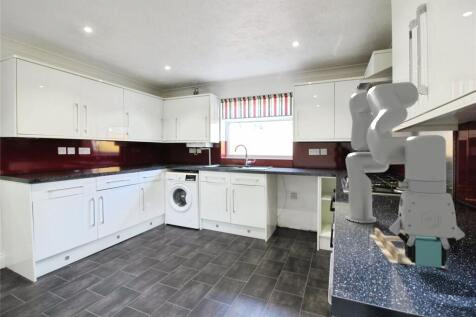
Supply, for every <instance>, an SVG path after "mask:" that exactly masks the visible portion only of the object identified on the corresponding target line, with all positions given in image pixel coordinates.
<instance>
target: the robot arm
mask: <svg viewBox="0 0 476 317" xmlns="http://www.w3.org/2000/svg"><path fill="white" fill-rule="evenodd" d="M418 89H419V88H417V86H416V85H415V84H414V83H413V82H411V81H409V82H408V81H404V82H402V81H401V82H393V83H391V82H390V83H381V84H377V85H375V86H373V87H371V88H370V89H369V90H367V91H366V90H365V91H360V92H356V93H353V94H352V95H351V96H350V98H349V101H348V102H349V103H348V107H349V109H348V110H349V113H350V115H351V120H352V121H351V123H352V125H351V135H350V146H351V148H352V149H353V150H355V152H351V153H348V154H347V156H346V158H345V165H346V170H347V182H348V214H346V215H345V219H346V220H347V219H348V220H347V221H349V220H350V222H353V221H354V222H353V223H358V222H359V223H360V224H373V223H376V222H377V218H376V217H375V216H373V191H372V190H373V189H372V188H373V186H372V185H373V184H372V181H371V179H370V178H369V177H368V176H367V175H366V173H367V174H368V173H384V172H386V171H388V169H389V168H390V165H404V179H403V181H398V184H397V185H398V188H403V189H404V190H403V191H401V195H400V199H399V205H398V215H397V216H398V217H397V219H396V220H395V221H394V222H393V223H392V224H391V225H389V227H388V230H389V231H390V232H391V233H393V234H394V236H398V237H399V238H400V239H402V240H403V241H404V242H403V243H404V248H405V255H406V257H407V258H408V259H409V260H410V261H411V262H412V263H415V262H416V248H415V247H414V245H413V243H414V240H415V237H416V236H423V237H435V238H436V239H438V240H439V241H441V266H444V267H445V266H446V262H447V260H448V257H447V255H448V254H447V251H448V250H449V249H450V246H452V245H454V244H455V243H456V242H457V241H459V240H461V239H462V238H464V237H465V236H466V234H465V232H464V231H463V230H461V229H460V227H459V226H458V225H457V224H458V223H457V216H456V210H455V205H454V201H453V197H452V194H451V193H447V143H446V142H447V141H446V138H445V137H444V136H443V135H440V134H427V135H425V134H424V135H412V136H407V135H406V136H405V135H404V136H393V134H392V132H391V131H390V130H393V129H395V128H397V127H399V126H401V125H402V124H403V123H404V122H406V120H407V118H408V113H409V112H408V110H407V109H409V108H411V107H413V106H414V105H415V104H416V103H417V101H418V98H419V90H418ZM399 229H401V230H403V231H404V232H405V234H402V233H401V232H400V231H399Z"/></svg>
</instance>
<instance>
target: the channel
mask: <svg viewBox="0 0 476 317" xmlns="http://www.w3.org/2000/svg"><path fill="white" fill-rule="evenodd" d="M399 231H400V232H401V233H402V234H405V232H404V231H403V229H401V228H399ZM369 236H370V237H371V239H372V240H373V241H374V243H375V244H376V245H377V247H378V248H379V249H380V251H382V253H383V255H384V256H385V257H386V259H387V260H388V262H390V263H394V264H402V265H413V266H416V265H415V264H414V263H412V262H411V261H410V260H409V259H408V258H407V257H406V255H405V247H404V248H403V247H396V246H395V245H394V244H393V243H392V242H401V243H405V242H404V241H403V240H402V239H400V238H399V237H398V236H397V235H386V234H384V233H383V232H382V231H381V230H380V229H379V228H378V227H374V234H370V233H369ZM429 267H431V266H429ZM439 268H440V269H442V268H443V269H446V267H445V266H441V267H439Z"/></svg>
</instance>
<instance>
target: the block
mask: <svg viewBox="0 0 476 317" xmlns="http://www.w3.org/2000/svg"><path fill="white" fill-rule="evenodd" d="M413 245H414V247H415V248H416V262H415V263H414V264H415V265H414V266H421V267H422V266H423V267H430V266H431V267H432V268H440V267H441V241H439V240H438V239H436V238H435V237H423V236H416V237H415V240H414V243H413Z"/></svg>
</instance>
